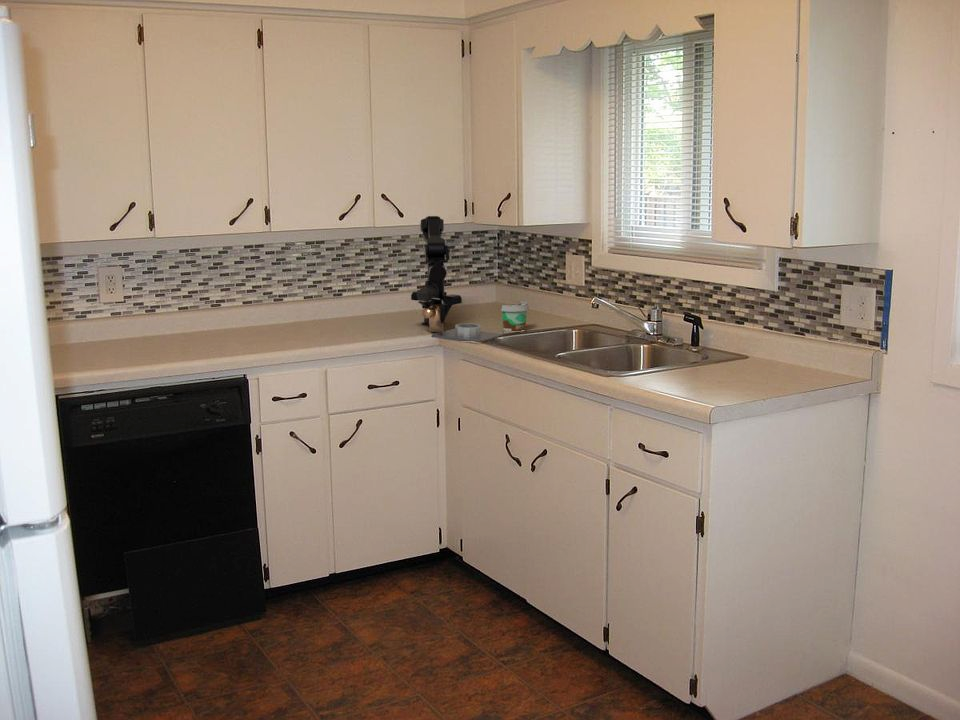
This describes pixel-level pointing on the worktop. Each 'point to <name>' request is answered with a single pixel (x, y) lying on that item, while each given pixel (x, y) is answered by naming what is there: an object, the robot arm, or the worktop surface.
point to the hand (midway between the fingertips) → (436, 321)
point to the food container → (514, 316)
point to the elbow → (433, 318)
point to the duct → (466, 333)
